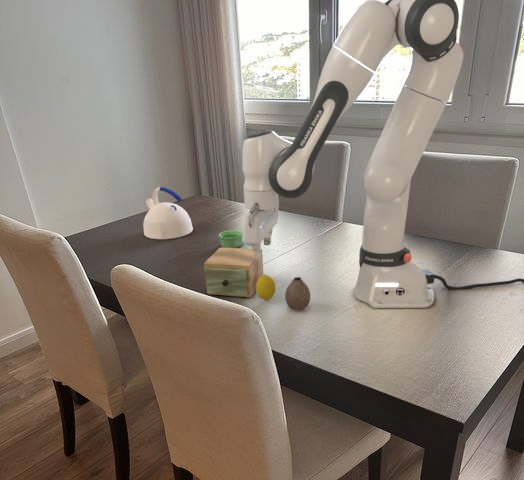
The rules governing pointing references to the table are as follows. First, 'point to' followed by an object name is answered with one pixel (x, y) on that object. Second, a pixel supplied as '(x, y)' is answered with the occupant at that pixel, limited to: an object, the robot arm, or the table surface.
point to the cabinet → (238, 264)
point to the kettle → (166, 218)
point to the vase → (297, 295)
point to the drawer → (226, 281)
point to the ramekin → (231, 239)
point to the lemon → (265, 287)
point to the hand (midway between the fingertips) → (262, 250)
